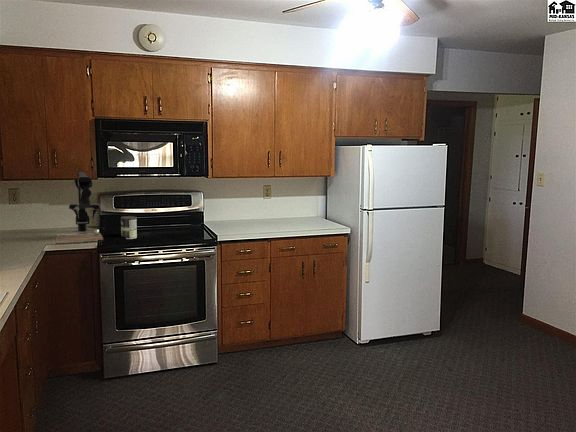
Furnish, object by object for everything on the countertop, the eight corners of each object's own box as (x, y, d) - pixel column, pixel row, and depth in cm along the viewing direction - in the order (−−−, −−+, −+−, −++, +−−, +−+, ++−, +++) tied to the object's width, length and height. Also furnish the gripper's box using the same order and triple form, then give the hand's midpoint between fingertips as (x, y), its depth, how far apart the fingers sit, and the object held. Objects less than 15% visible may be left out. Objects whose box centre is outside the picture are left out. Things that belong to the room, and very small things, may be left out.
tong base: (57, 236, 328) (57, 233, 328) (89, 234, 336) (89, 231, 336) (57, 237, 324) (57, 234, 323) (90, 235, 332) (90, 233, 332)
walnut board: (55, 238, 328) (55, 236, 328) (100, 235, 340) (100, 233, 340) (55, 244, 310) (55, 241, 310) (103, 241, 322) (103, 239, 322)
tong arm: (65, 237, 325) (64, 231, 325) (65, 236, 328) (64, 230, 328) (100, 235, 334) (99, 230, 334) (99, 234, 337) (99, 229, 337)
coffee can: (121, 239, 330) (120, 218, 328) (120, 236, 339) (120, 216, 337) (137, 238, 334) (137, 218, 331) (136, 235, 343) (136, 215, 341)
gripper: (66, 197, 313) (67, 221, 316) (97, 197, 317) (98, 221, 320) (70, 195, 324) (71, 218, 327) (100, 195, 328) (101, 218, 330)
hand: (85, 219), depth 325 cm, fingers open, 9 cm apart
